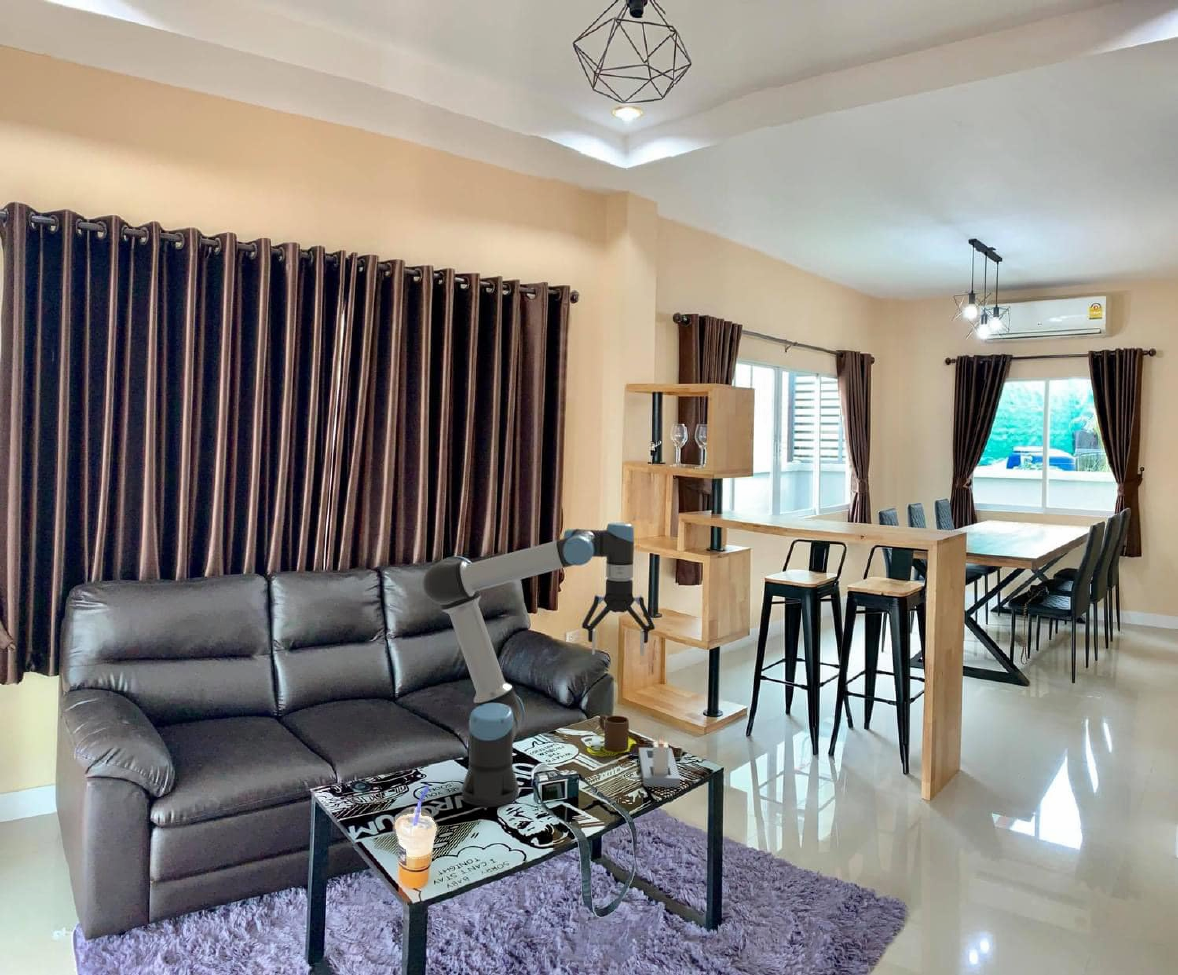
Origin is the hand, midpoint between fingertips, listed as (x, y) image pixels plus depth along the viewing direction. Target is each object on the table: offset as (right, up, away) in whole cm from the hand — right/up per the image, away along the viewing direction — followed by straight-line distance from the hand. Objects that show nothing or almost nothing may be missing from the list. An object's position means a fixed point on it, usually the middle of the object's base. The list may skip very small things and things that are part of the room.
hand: (617, 653), depth 226 cm
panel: (+12, -37, +9) cm, 40 cm away
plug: (+12, -36, +3) cm, 38 cm away
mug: (-1, -35, +28) cm, 45 cm away
